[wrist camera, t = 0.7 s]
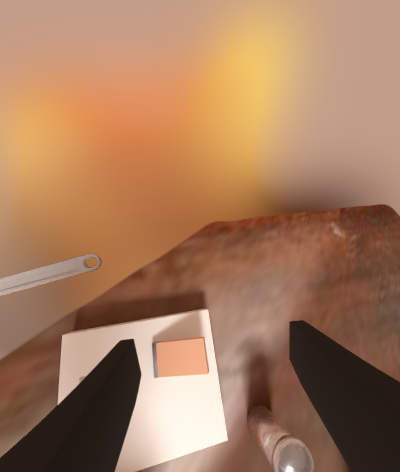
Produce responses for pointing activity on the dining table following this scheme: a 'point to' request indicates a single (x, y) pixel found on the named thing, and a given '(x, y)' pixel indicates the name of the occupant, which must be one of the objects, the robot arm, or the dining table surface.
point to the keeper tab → (180, 357)
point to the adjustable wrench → (47, 274)
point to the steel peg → (278, 442)
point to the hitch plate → (154, 388)
